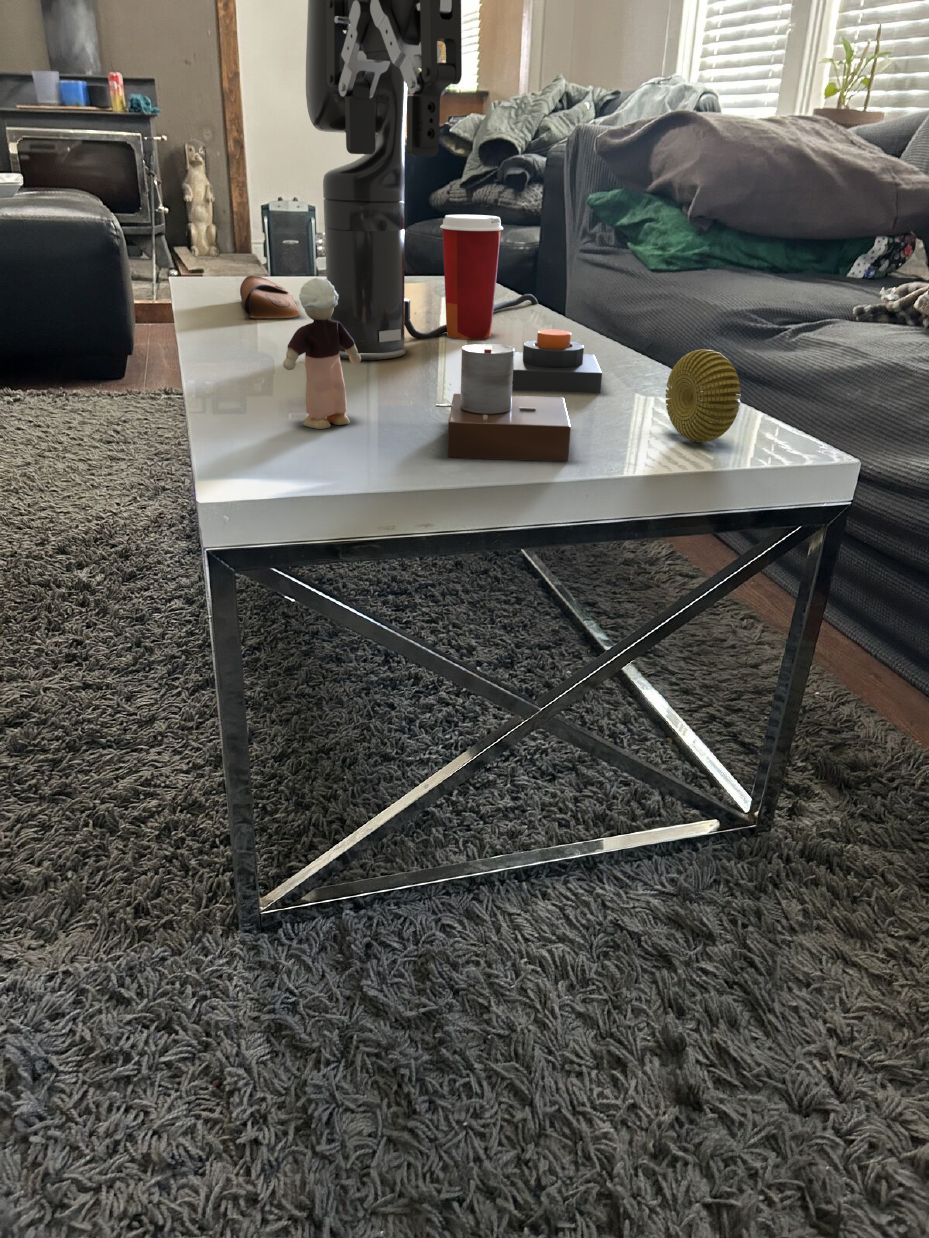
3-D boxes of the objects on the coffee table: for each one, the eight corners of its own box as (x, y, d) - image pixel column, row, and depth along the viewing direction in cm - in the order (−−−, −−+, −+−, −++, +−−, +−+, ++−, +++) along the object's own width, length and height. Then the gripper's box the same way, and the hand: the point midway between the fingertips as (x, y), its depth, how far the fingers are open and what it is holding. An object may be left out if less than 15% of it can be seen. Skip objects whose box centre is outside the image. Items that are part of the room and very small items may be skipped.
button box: (505, 370, 110) (507, 335, 109) (592, 373, 110) (595, 338, 108) (506, 390, 101) (507, 352, 100) (600, 393, 101) (603, 355, 99)
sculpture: (652, 431, 88) (662, 342, 85) (687, 427, 90) (699, 340, 86) (704, 454, 82) (718, 360, 78) (742, 450, 83) (757, 357, 80)
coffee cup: (509, 334, 131) (515, 216, 125) (480, 343, 125) (484, 219, 118) (457, 327, 135) (460, 213, 129) (426, 336, 129) (427, 215, 122)
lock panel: (438, 425, 88) (439, 391, 87) (561, 429, 88) (563, 395, 86) (431, 457, 79) (432, 419, 78) (568, 462, 79) (571, 424, 78)
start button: (536, 345, 106) (537, 328, 105) (568, 346, 106) (569, 329, 105) (537, 351, 103) (538, 334, 102) (570, 352, 103) (572, 335, 102)
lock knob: (461, 400, 84) (462, 339, 82) (511, 402, 84) (514, 340, 82) (459, 413, 80) (460, 348, 78) (511, 414, 80) (514, 350, 78)
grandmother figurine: (338, 412, 91) (334, 272, 85) (367, 420, 89) (364, 277, 83) (276, 428, 86) (267, 279, 80) (305, 436, 84) (298, 284, 78)
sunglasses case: (304, 315, 138) (278, 273, 135) (263, 341, 139) (236, 300, 135) (293, 297, 154) (269, 259, 151) (256, 320, 154) (232, 283, 151)
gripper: (499, -127, 60) (489, 159, 67) (381, -91, 70) (383, 154, 77) (398, -150, 56) (398, 157, 63) (288, -108, 66) (299, 152, 73)
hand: (390, 155), depth 70 cm, fingers open, 8 cm apart
